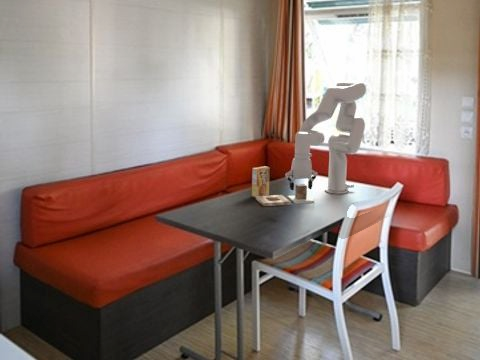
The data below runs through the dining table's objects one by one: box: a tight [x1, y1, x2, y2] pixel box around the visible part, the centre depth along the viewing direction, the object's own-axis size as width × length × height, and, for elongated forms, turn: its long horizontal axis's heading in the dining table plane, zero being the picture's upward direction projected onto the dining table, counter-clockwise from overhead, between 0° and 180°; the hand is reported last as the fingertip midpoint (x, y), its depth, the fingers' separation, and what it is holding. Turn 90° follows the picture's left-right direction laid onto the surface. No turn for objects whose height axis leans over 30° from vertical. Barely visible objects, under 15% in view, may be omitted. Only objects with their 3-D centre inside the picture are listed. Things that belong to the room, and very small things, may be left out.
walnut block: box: [294, 183, 308, 200], centre depth 279 cm, size 4×4×7 cm
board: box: [287, 194, 315, 205], centre depth 280 cm, size 10×12×1 cm
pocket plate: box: [255, 194, 292, 207], centre depth 276 cm, size 14×14×2 cm
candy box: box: [251, 165, 271, 198], centre depth 286 cm, size 9×4×15 cm, turn 129°
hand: (300, 189), depth 278 cm, fingers open, 9 cm apart
